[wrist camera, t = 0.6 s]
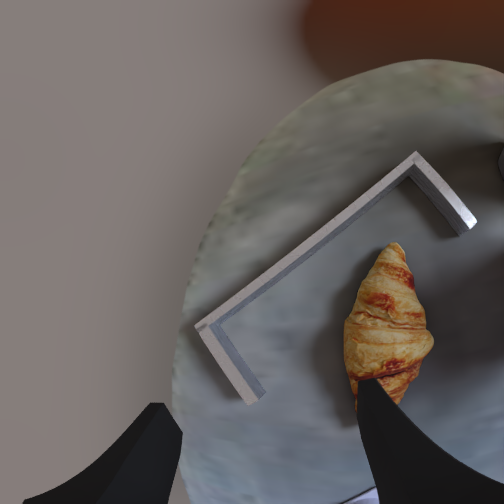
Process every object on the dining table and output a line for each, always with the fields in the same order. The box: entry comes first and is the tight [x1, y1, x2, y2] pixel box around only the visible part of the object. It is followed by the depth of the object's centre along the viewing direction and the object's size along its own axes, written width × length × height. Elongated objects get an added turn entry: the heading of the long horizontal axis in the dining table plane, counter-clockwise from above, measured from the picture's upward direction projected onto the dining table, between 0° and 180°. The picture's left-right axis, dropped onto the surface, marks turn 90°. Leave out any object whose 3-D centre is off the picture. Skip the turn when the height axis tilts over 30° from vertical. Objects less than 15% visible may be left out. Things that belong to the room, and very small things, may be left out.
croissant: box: [344, 242, 434, 413], centre depth 28 cm, size 21×10×8 cm, turn 174°
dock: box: [194, 151, 477, 406], centre depth 31 cm, size 11×33×4 cm, turn 125°
